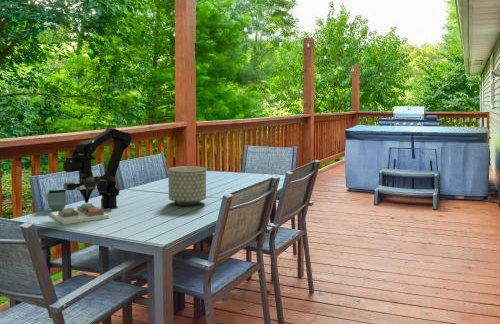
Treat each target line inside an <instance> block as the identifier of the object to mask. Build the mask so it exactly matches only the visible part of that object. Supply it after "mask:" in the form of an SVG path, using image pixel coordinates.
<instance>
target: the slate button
mask: <svg viewBox="0 0 500 324" xmlns="http://www.w3.org/2000/svg"><path fill="white" fill-rule="evenodd" d="M92 205H93V203H90V202H88V203H85V202H84V203H82V204H81V205H80V206H81V208H82V209H86V208H91V207H92Z"/></svg>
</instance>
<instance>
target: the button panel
mask: <svg viewBox="0 0 500 324" xmlns="http://www.w3.org/2000/svg"><path fill="white" fill-rule="evenodd" d="M92 207H96V206H94V205H93V204H92ZM50 216H51V217H52V218H54V219H55V220H57V221H58V222H59V223H61V224H62V225H70V224H76V223H82V222H83V221H84V222H89V221H98V220H105V219H109V218H110V216H109V214H108V213H106V212H105V211H104V210H102V209H100V208H99V212H93V213H89V212H88V208H86V209H82V208H81V205H80V206H77V207H76V209H74V212H73V213H66V214H63V213H62V210H57V211H52V212H50ZM84 222H83V223H84Z"/></svg>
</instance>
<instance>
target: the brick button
mask: <svg viewBox="0 0 500 324" xmlns="http://www.w3.org/2000/svg"><path fill="white" fill-rule="evenodd" d="M99 209H100V207H99V206H95V207H91V208H88V212H89V213H93V212H99Z"/></svg>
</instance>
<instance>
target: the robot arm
mask: <svg viewBox="0 0 500 324" xmlns="http://www.w3.org/2000/svg"><path fill="white" fill-rule="evenodd" d="M132 138H133V137H132V135H131V134H130V133H129V132H124V131H122V130H118V129H117V128H113V127H108V128H106V129H105V130H103V131H102V132H100V133H99V134H97V135H95V136H94V137H92V138H91V139H88V140H82V141H81V142H78V143H76V145H75V149H74V150H73V152H72V154H71V156H70V157H69V156H67V157H65V160H64V161H63V164H62V168H63V170H64V172H65V173H66V174H67V173H69V174H70V173H75V172H77V173H78V183H75V182H73V181H70V182H65V183H63V190H67V191H74V190H77V191H78V192H79V193H80V194H81V196H82V198H83V200H84V204H85V203H89V201H90V197H91V194H92V193H93V191H94V190H96V189H97V191H98V195H99V196H101V198H100V208H103V209H104V210H110V209H117V208H119V206H118V205H117V204H118V203H117V201H118V200H117V196H118V197H119V195H120V190H119V189H118V188H117V187H116V185H117V184H116V183H117V181H116V174H117V172H118V169H119V165H120V163H121V159H122V158H123V154H124V151H125V150H126V149H127V148H128V147H129V146H130V144H131V143H132ZM109 140H112V145H113V150H112V153H111V156H110V158H109V161H108V164H107V167H106V170H105V173H104V174H103V175H96V176H94V174H93V169H92V168H93V165H92V160H96V157H95V156H93V154H94V153H95V152H96V151H97V148H98V147H99V146H101V145H103V144H104V143H106V142H108V141H109Z"/></svg>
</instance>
